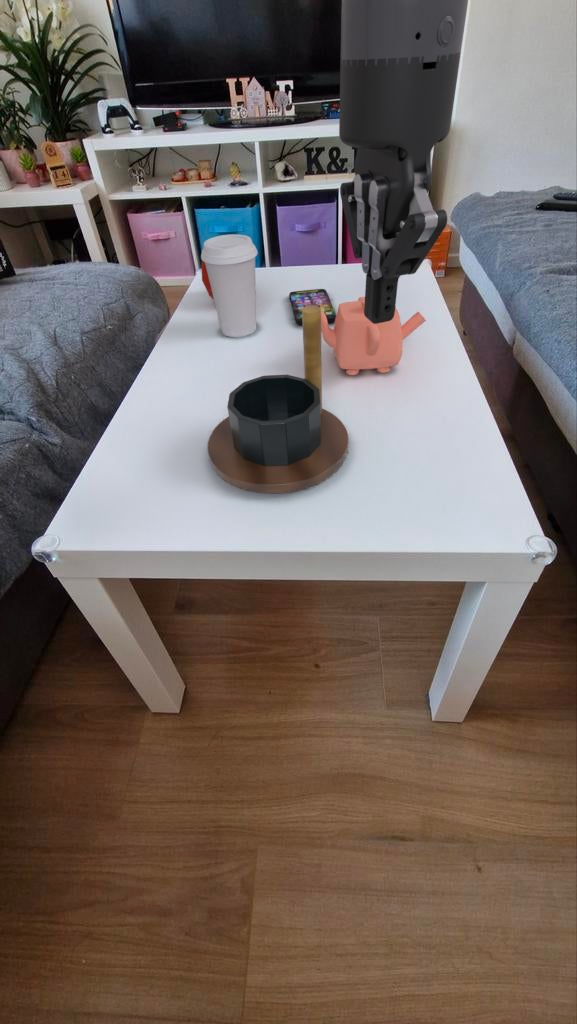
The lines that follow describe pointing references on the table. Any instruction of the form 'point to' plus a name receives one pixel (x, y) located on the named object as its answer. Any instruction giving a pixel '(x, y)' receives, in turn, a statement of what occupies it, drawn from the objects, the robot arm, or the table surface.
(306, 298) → the smartphone
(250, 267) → the coffee cup
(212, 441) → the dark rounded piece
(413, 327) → the teapot
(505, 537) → the table surface
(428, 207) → the robot arm
